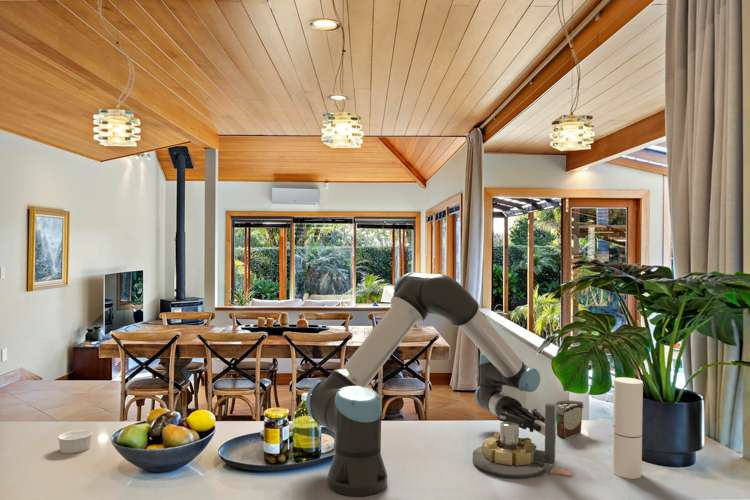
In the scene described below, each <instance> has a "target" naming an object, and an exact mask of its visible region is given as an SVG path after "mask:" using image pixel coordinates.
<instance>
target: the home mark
mask: <svg viewBox="0 0 750 500" xmlns="http://www.w3.org/2000/svg"><path fill="white" fill-rule="evenodd" d="M550 473H551V474H554V475H559V476H564V477H571V476H572V474H573V472H572V471H570V470H564V469H558V468H552V469H551V471H550Z"/></svg>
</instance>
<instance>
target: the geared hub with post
mask: <svg viewBox="0 0 750 500" xmlns="http://www.w3.org/2000/svg"><path fill="white" fill-rule="evenodd" d="M544 406H545V413H544V418H545V436H544V450H539V449H537V445H536V444H535V443H534V442H532V441H533V440H532V439H531V438H530V437H519V446H517V447H516V448H515V450H508V449H502V448H500V432H497V433H495V432H494V433H493V436H489V437H486V438H485V439H484V440H483V442H482V445H481V446H482V454H483V456H485V457H486V458H487V459H489V460H490V461H495V463H500V464H506V465H513V464H514V465H516V466H518V465H525V464H531V462H532V463H533V462H534V461H535V462H541V463H547V465H553V466H554V465H555V464H556V438H557V437H556V436H557V427H556V404H555V403H548V402H547V403H546V404H545V405H544Z"/></svg>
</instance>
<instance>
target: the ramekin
mask: <svg viewBox="0 0 750 500" xmlns="http://www.w3.org/2000/svg"><path fill="white" fill-rule="evenodd" d="M92 436H93V431H91V430H88V429H76V430H71V431H67V432H63V433H61V434H60V435H58V437H57V439H58V445H59V451H60V452H61V453H62V454H67V455H68V454H77V453H81V452H85V451H87V450H89V449H90V448H91V446H92Z"/></svg>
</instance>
